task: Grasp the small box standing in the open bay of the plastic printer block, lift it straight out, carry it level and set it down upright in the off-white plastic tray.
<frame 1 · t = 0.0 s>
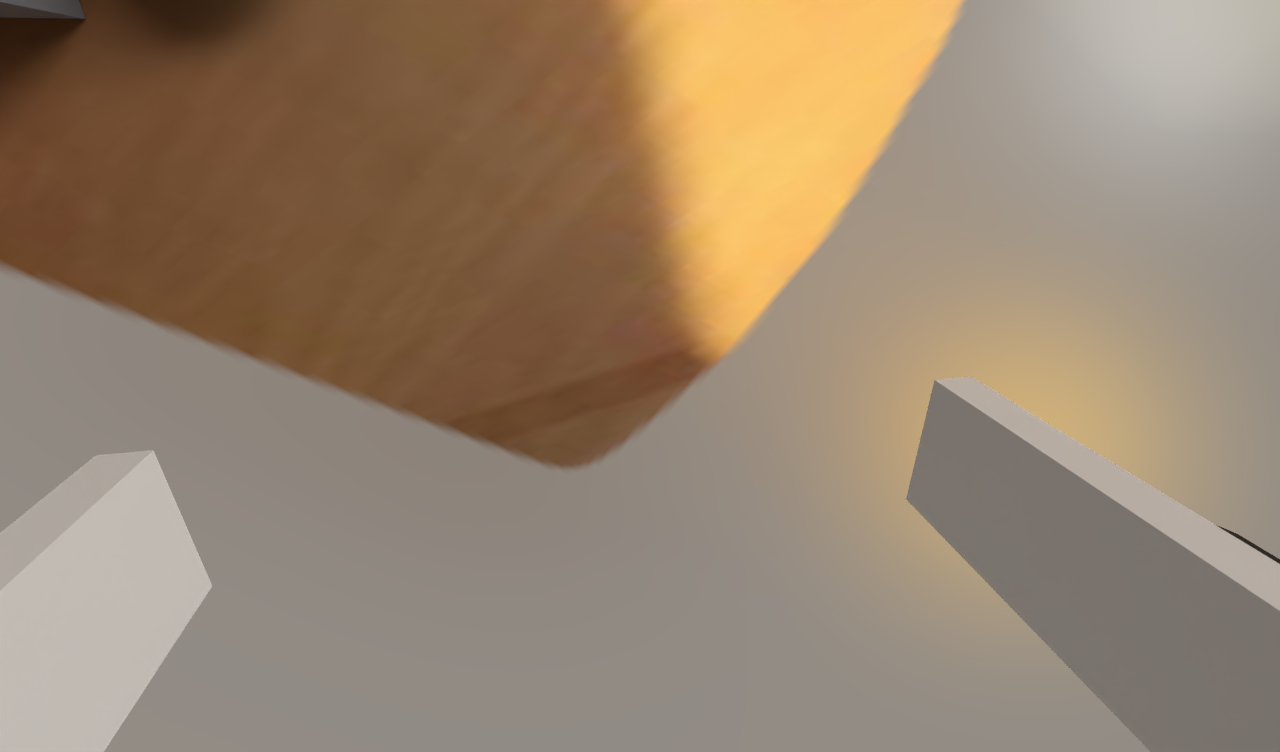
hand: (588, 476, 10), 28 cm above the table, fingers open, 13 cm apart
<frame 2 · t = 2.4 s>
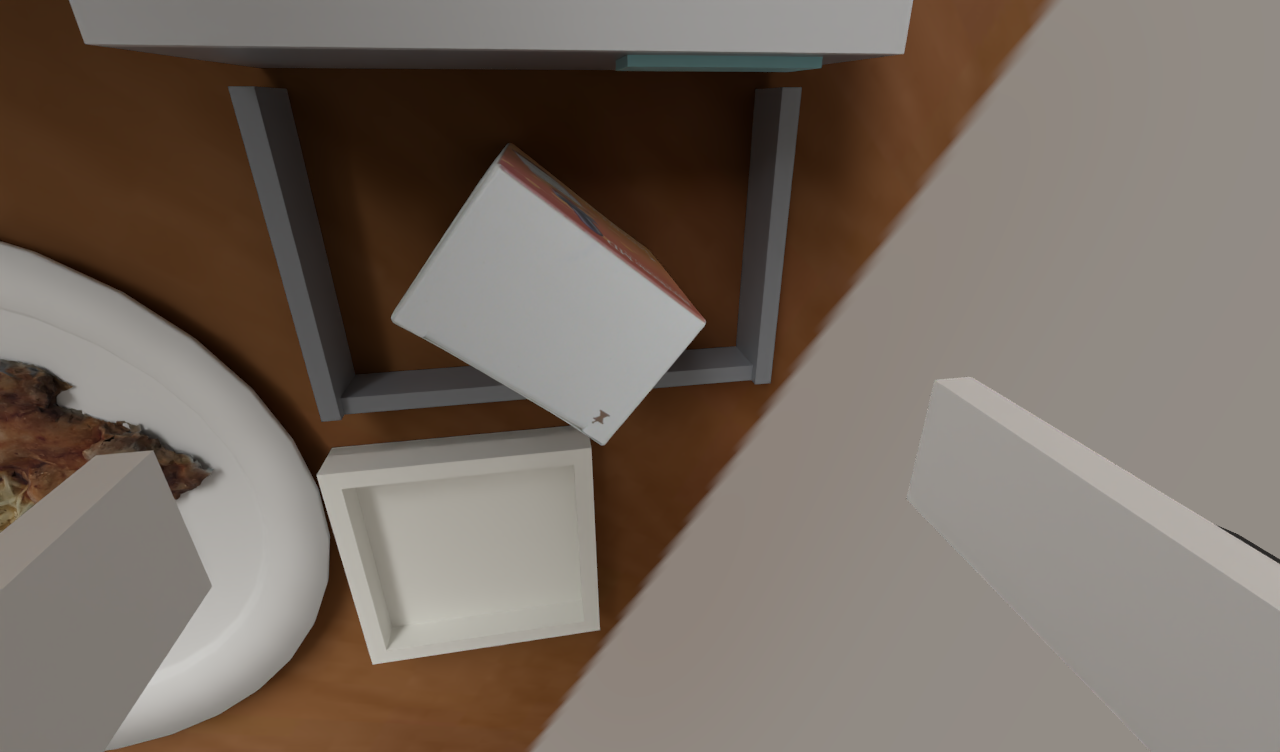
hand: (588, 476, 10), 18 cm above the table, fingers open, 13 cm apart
tray: (479, 532, 32), on the table
small box: (547, 245, 27), resting in printer
printer: (547, 246, 26), on the table
plated food: (1, 516, 28), on the table
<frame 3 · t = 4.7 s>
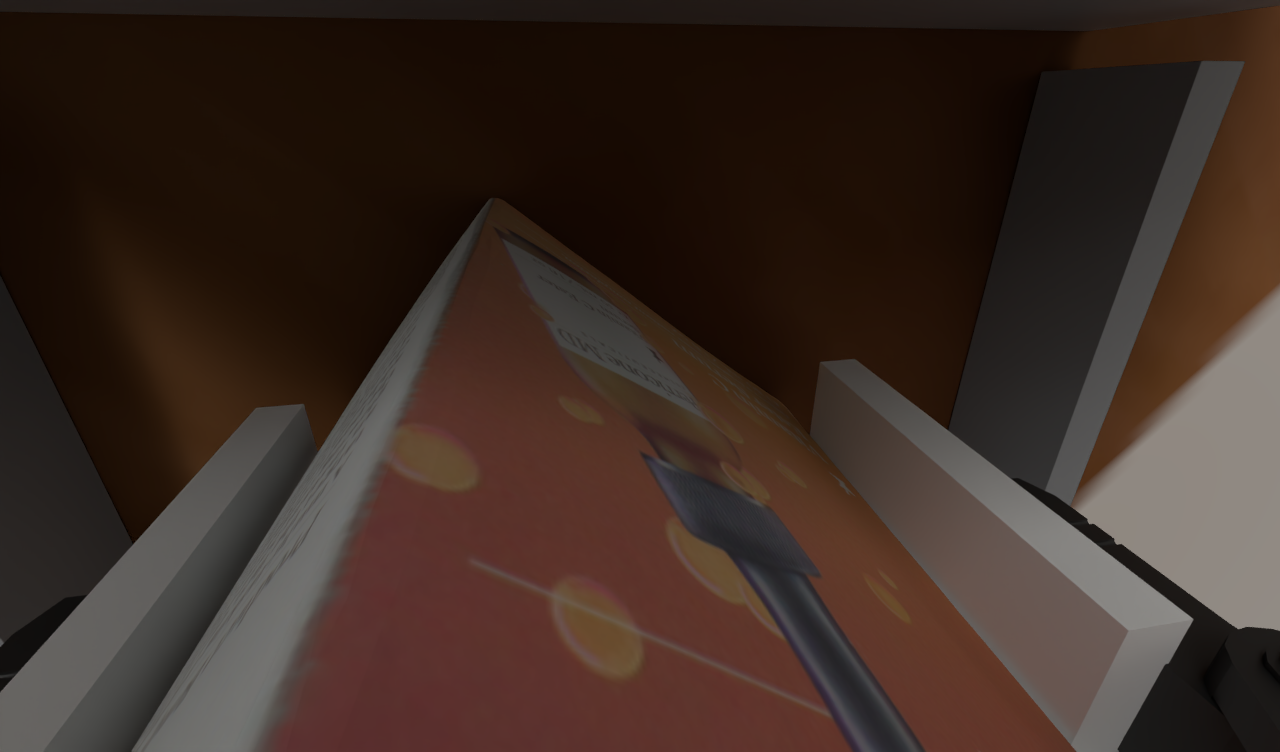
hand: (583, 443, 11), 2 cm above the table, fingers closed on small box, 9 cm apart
small box: (576, 400, 13), resting in printer, touching gripper
printer: (576, 404, 13), on the table
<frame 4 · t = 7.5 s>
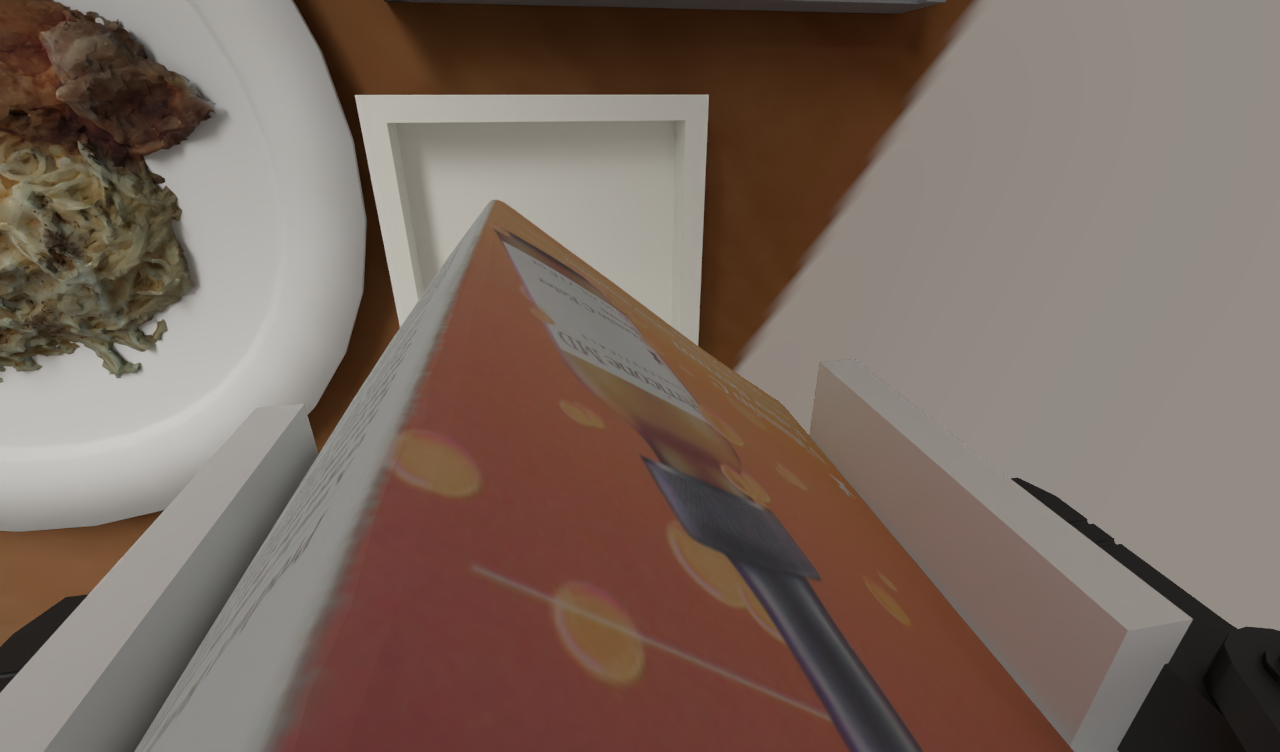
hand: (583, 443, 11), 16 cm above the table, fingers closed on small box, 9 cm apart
tray: (550, 253, 26), on the table
small box: (576, 401, 13), point 15 cm above the table, touching gripper
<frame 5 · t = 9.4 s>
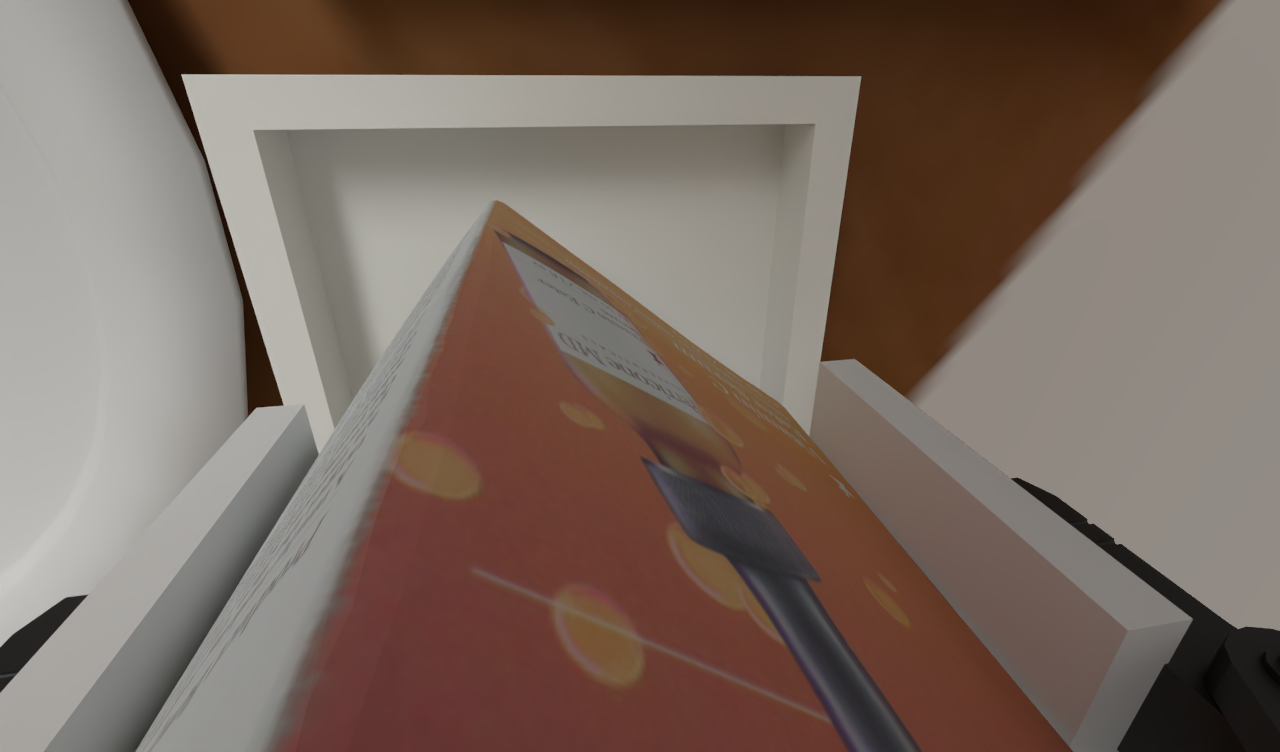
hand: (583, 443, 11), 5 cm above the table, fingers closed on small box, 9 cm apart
tray: (565, 340, 16), on the table
small box: (576, 402, 13), point 3 cm above the table, touching gripper
when the fingers open (4 cm above the table, at t = 10.6 s): small box drops 2 cm, resting on tray.
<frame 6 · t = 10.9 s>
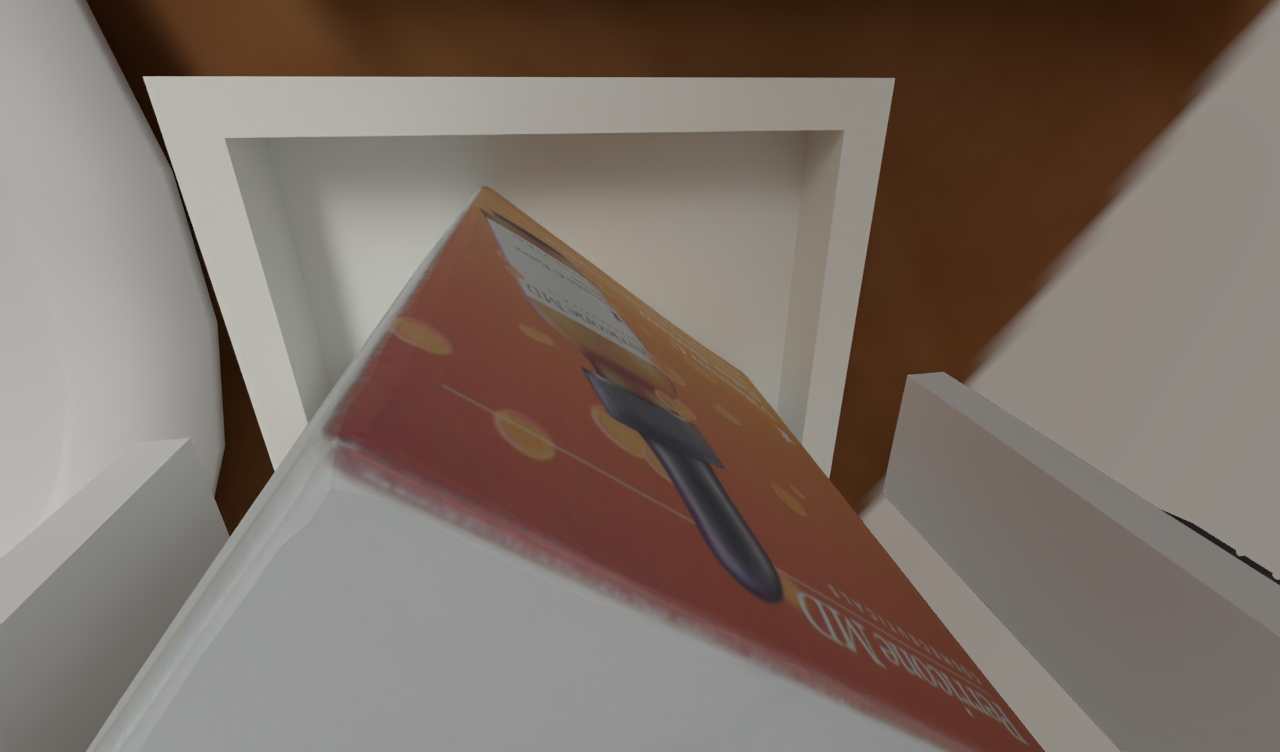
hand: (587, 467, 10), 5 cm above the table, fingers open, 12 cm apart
tray: (569, 360, 15), on the table
small box: (558, 370, 14), point 1 cm above the table, touching tray
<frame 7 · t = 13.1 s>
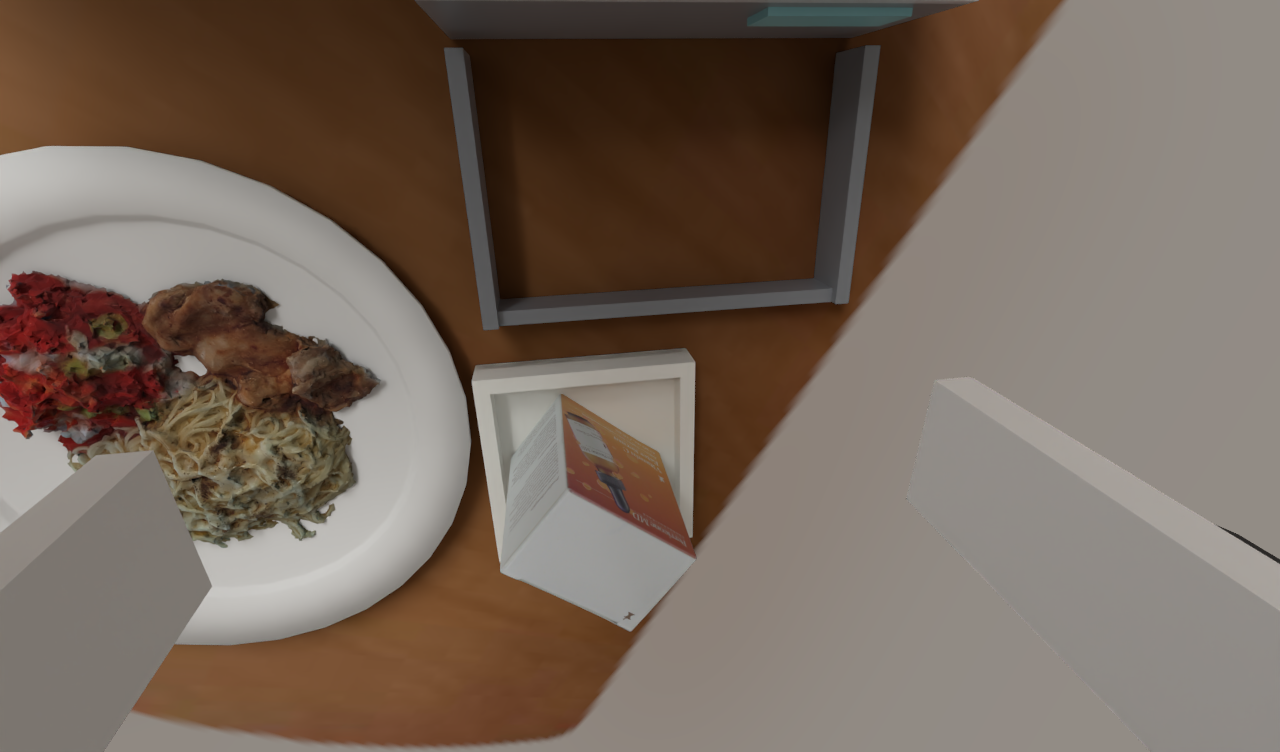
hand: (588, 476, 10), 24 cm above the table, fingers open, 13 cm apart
tray: (589, 447, 37), on the table
small box: (585, 452, 37), point 1 cm above the table, touching tray
printer: (662, 187, 32), on the table
plated food: (205, 423, 33), on the table
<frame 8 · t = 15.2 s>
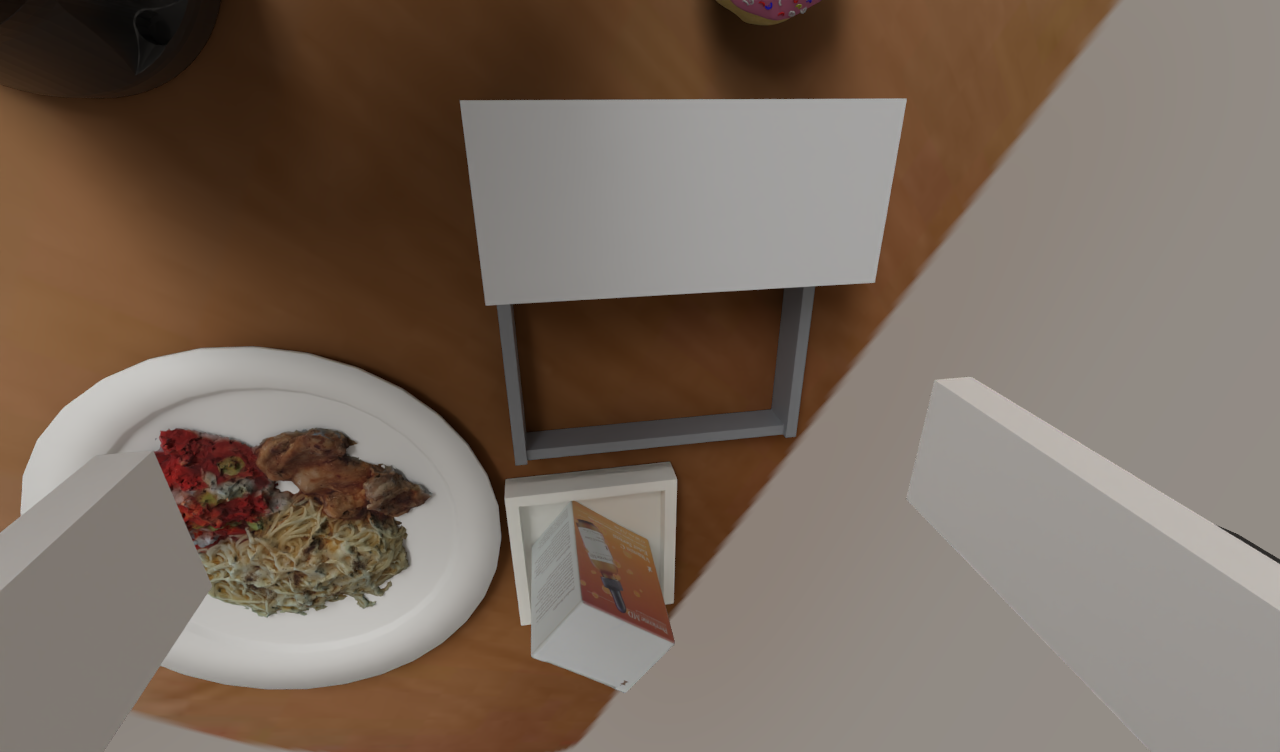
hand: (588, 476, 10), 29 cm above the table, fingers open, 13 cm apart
tray: (593, 534, 47), on the table
small box: (590, 540, 46), point 1 cm above the table, touching tray
printer: (653, 351, 41), on the table
plated food: (294, 524, 42), on the table
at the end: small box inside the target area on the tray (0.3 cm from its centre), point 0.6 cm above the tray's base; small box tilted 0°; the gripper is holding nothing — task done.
